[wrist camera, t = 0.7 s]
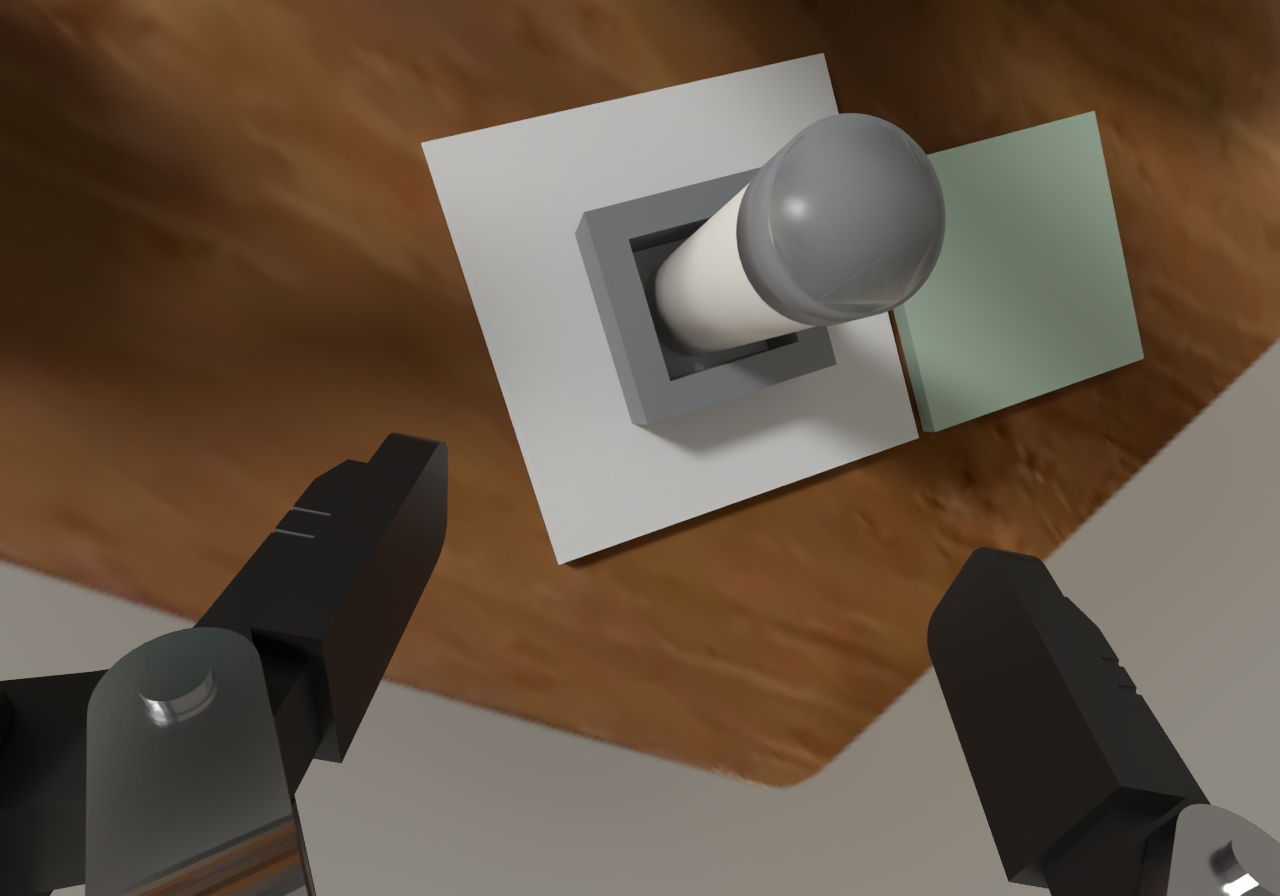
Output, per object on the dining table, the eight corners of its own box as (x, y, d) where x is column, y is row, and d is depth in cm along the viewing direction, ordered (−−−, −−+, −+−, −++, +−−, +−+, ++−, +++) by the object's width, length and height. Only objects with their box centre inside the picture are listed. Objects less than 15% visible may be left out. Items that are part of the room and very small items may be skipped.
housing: (423, 151, 30) (409, 107, 25) (814, 63, 33) (861, 10, 29) (556, 559, 32) (565, 584, 28) (907, 437, 36) (964, 441, 31)
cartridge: (627, 265, 31) (740, 138, 16) (727, 238, 32) (919, 94, 17) (658, 371, 31) (794, 340, 17) (755, 341, 32) (964, 287, 18)
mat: (860, 176, 34) (870, 169, 33) (1078, 118, 37) (1094, 110, 36) (923, 431, 36) (934, 432, 35) (1127, 359, 38) (1144, 358, 37)
